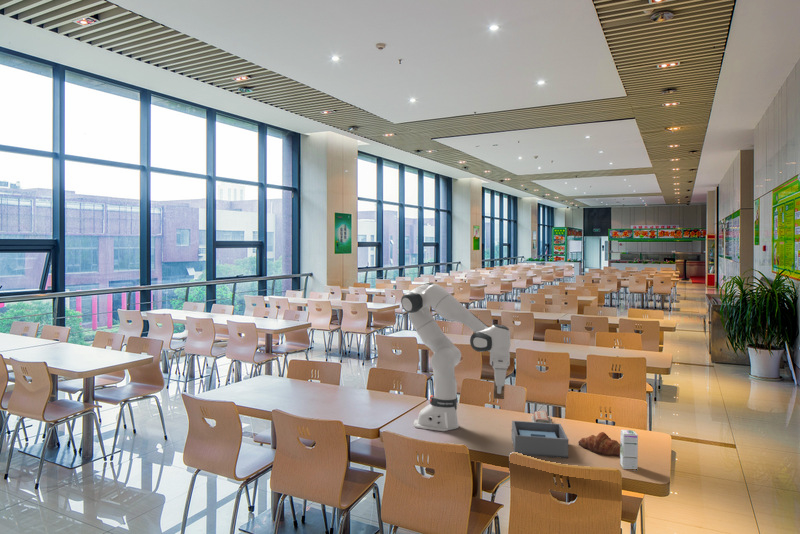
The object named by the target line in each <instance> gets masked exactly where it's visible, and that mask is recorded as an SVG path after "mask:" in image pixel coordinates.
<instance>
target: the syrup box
mask: <svg viewBox="0 0 800 534" xmlns="http://www.w3.org/2000/svg"><path fill="white" fill-rule="evenodd" d="M619 442H620V443H619V444H620V456H619V466H621V468H622V469H623V470H626V469H637V470H638V466H639V464H638V463H639V460H638V457H639V456H638V455H639V449H638V448H639V434H637V432H636V431H635V430H631V429H620V440H619Z"/></svg>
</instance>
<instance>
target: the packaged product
mask: <svg viewBox="0 0 800 534" xmlns="http://www.w3.org/2000/svg"><path fill="white" fill-rule="evenodd" d="M530 418H531V422H540V423H552V418H551V416H550V415H549V414H548V412H547V411H546V410H537V411H533V415H531V416H530Z"/></svg>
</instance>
